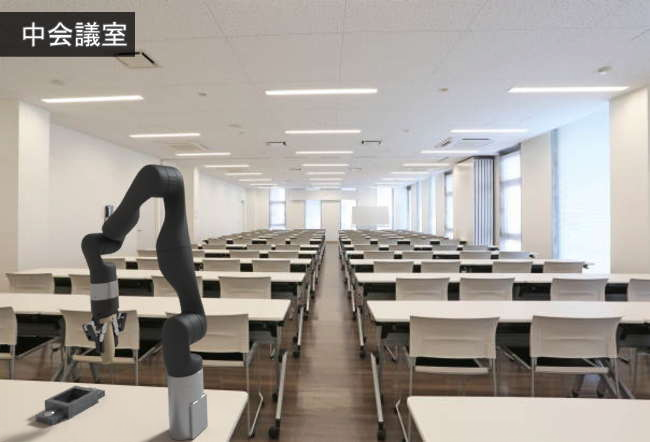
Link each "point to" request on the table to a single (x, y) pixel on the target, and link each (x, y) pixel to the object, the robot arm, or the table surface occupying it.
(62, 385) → the table surface
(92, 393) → the bracket
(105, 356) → the handle
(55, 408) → the chain end
